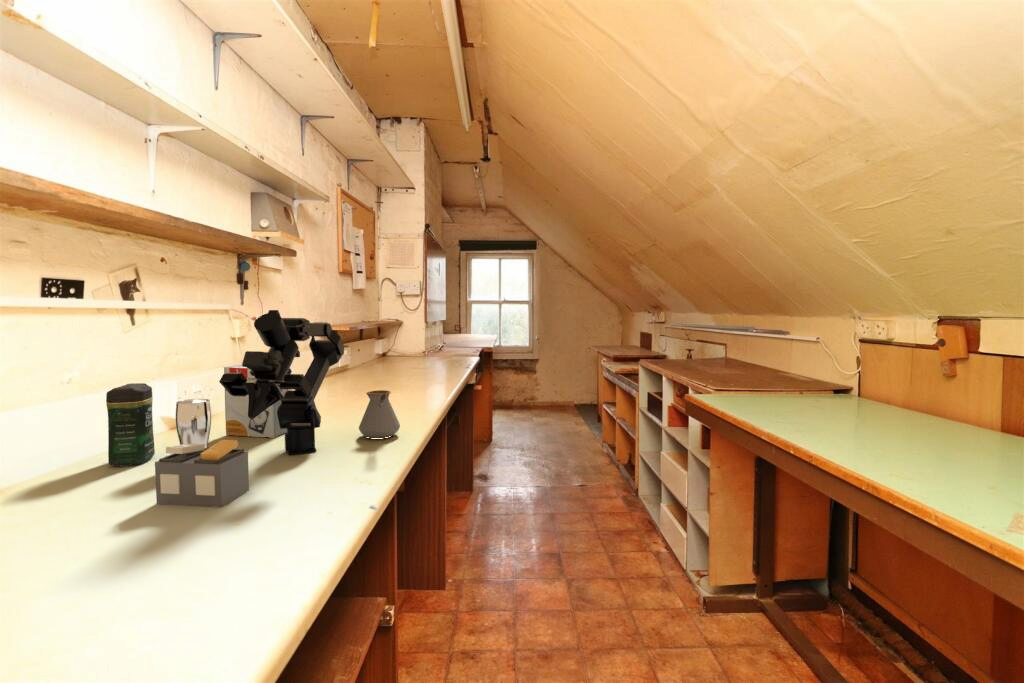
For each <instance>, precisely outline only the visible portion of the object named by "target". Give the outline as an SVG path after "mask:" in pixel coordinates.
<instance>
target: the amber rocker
mask: <svg viewBox="0 0 1024 683" xmlns="http://www.w3.org/2000/svg"><path fill="white" fill-rule="evenodd" d="M238 443H239V442H238V439H220V440H219V441H217V443H215V444H213V445H212V446H210V447H208V448H209V449H207V450H205V451H204V452H202V453H201V460H219V459H220V458H221V457H223V456H224V455H226V454H227V453H229V452H230V451H231V450H233V449H237V448H238V446H239V444H238Z"/></svg>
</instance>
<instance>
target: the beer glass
mask: <svg viewBox="0 0 1024 683" xmlns="http://www.w3.org/2000/svg"><path fill="white" fill-rule="evenodd" d="M210 400H211V399H209V398H190V399H183V400H179V401H176V403H175V428H176V429H175V430H176V433H177V438H178V441H179V445H183V444H205V448H209V439H210V434H211V427H212V409H211V402H210Z"/></svg>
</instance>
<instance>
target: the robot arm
mask: <svg viewBox="0 0 1024 683" xmlns="http://www.w3.org/2000/svg"><path fill="white" fill-rule="evenodd" d="M253 326H254V328H255V330H256V332H257V334H258V335H259V337H260V339H261V340H262V342H263V344H264V345H265V346H266V347H267V348H268V347H269V349H268V351H257V350H256V351H253V350H252V351H249V350H248V351H245V352H244V356H243V360H242V363H241V364H242V366H243V367H247V368H249V369H251V371H250V374H251V375H252V376H255V377H247V379H246V378H245V376H244V375H243V374H242V373H224V372H223V374H222V376H221V378H220V379H219V381H218V382H219V384H221V386H222V387H223V388H224V390H225V389H226V390H227V391H228V393H229V394H230V395H232V396H243V397H245V396H246V395H249V405H248V417H249V418H250V419H254V418H255V417H257V416H258V415H259V414H260V413H262V412H263V411H264V410H266V409H267V408H269V407H270V406H272V405H273V404H275V403H276V402H278V401H279V400H281V402H282V403H281V404H280V406H279V407H278V410H277V416H278V420H279V425H280V429H287V433H285V434H284V450H285V451H286V452H287V455H289V456H291V455H300V454H307V453H314V452H317V448H316V444H315V443H316V437H315V436H316V435H315V434H316V433H315V429H317V428H320V427H321V422H322V416H321V414H320V412H319V410H318V409H317V405H316V402H315V398H316V396H317V394H318V392H319V391H320V389H321V386H322V384H323V381H324V380H325V377H326V375H327V374H328V372H329V369H330V368H331V367H332V366H334V365H336V364H338V363H339V362H340V360H341V359H342V356H343V355H344V354H345V345H344V343H343V340H342V337H341V336H340V335H339V333H337V332H336V331H335V330H334V329H333V328H332V325H331V323H329V322H320V321H319V322H318V321H317V322H310V320H309V319H307V318H304V317H282V316H281V314H280V312H279V309H269V310H268V312H267V313H265V314H262V315H260V316H259V317H257V318H256V319H255V320H254V323H253ZM315 337H316V338H317V337H318V338H319V337H322V338H325V337H326V338H327V339H318V340H317V339H316V338H315ZM309 339H310V342H309V344H308V346H309V349H310V352H311V354H312V358H313V359H312V361H311V363H310V365H309V366H308V368H307V370H306V372H305V374H304V373H302V374H301V373H292V369H291V366H292V364H293V362H294V360H295V358H300V357H301V352H300V350H299V346H298V343H297V342H305V341H307V340H309ZM286 389H288V391H287V392H286ZM284 392H286V394H285V396H284V397H283V394H284Z"/></svg>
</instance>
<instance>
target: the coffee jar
mask: <svg viewBox="0 0 1024 683" xmlns="http://www.w3.org/2000/svg"><path fill="white" fill-rule="evenodd" d="M105 396H106V398H105V399H106V400H105V401H106V402H105V403H106V409H107V424H108V426H107V428H108V429H107V431H108V432H107V433H108V439H107V440H108V446H107V448H108V450H107V451H108V453H107V454H108V455H107V457H108V465H110V466H115V467H130V466H132V465H136V464H137V465H138V464H142V463H143V464H144V463H145V462H147V461H149V460H150V459H151V458H153V456H155V453H156V452H155V450H156V449H155V439H154V423H153V422H154V421H153V389H152V386H151V385H148V384H147V383H145V382H144V383H143V382H142V383H141V382H140V383H138V382H137V383H136V382H135V383H127V384H125V385H120V386H118V387H114V388H112V389H111V390H108V391H107V392H106V395H105Z"/></svg>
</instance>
